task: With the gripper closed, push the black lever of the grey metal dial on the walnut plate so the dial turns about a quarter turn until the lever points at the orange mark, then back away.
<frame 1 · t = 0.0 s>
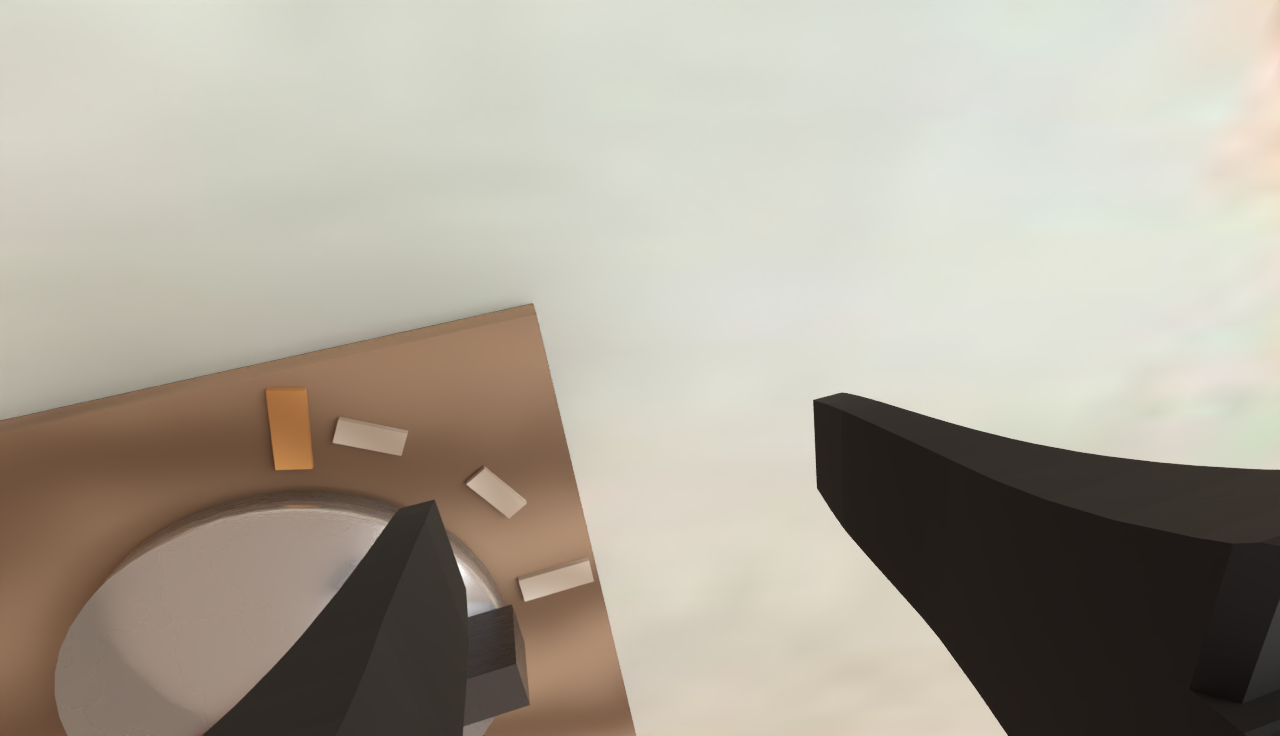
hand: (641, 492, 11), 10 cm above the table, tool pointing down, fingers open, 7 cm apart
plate: (323, 622, 22), on the table
dial: (306, 700, 19), point 3 cm above the table, hinge at 0.0°
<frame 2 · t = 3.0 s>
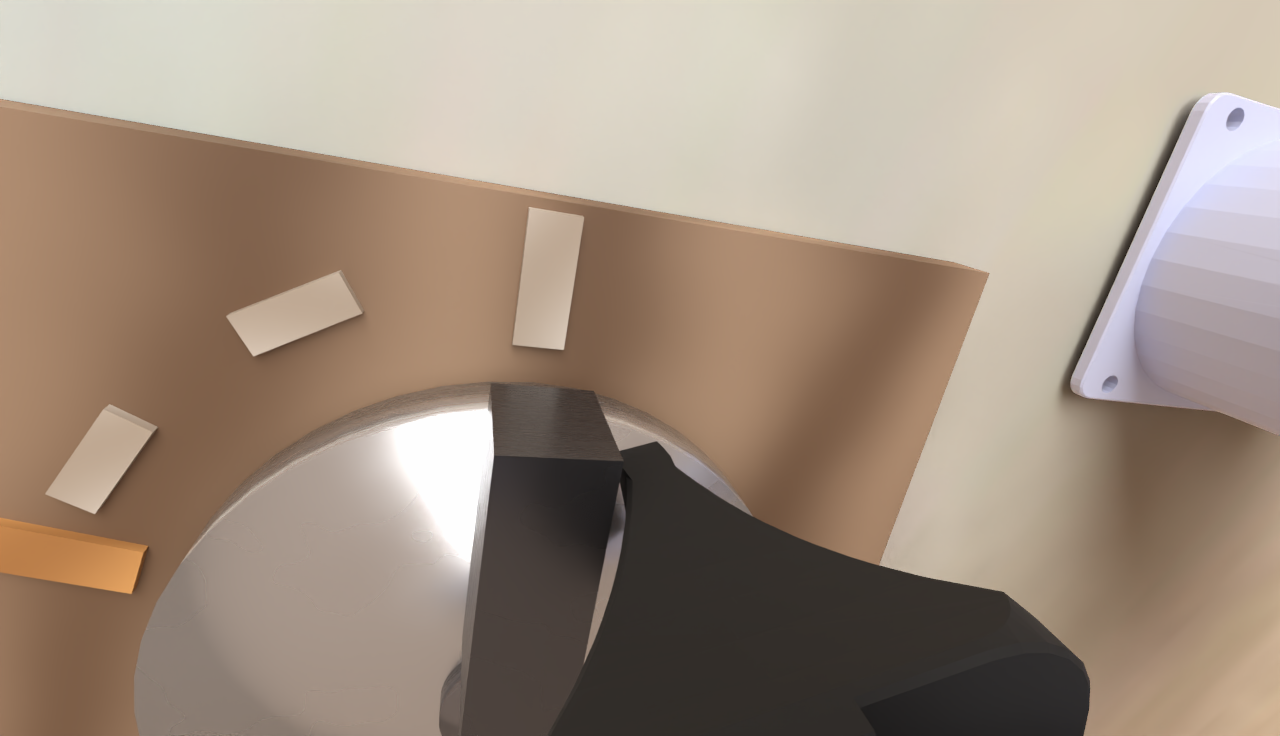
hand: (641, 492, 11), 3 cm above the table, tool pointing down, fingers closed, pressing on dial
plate: (496, 594, 16), on the table
dial: (502, 704, 12), point 3 cm above the table, hinge at 0.2°, touching gripper
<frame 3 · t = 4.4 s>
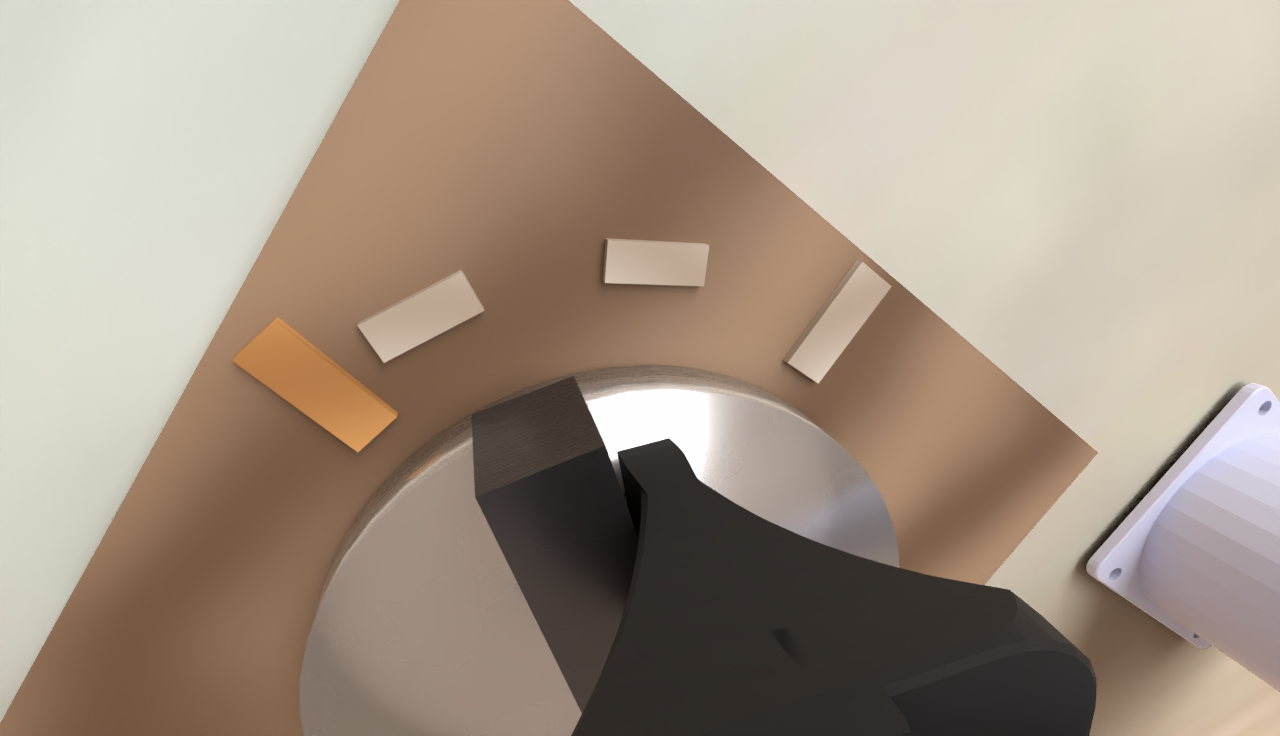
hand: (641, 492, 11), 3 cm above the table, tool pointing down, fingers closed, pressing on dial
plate: (607, 579, 16), on the table
dial: (640, 682, 13), point 3 cm above the table, hinge at 52.0°, touching gripper
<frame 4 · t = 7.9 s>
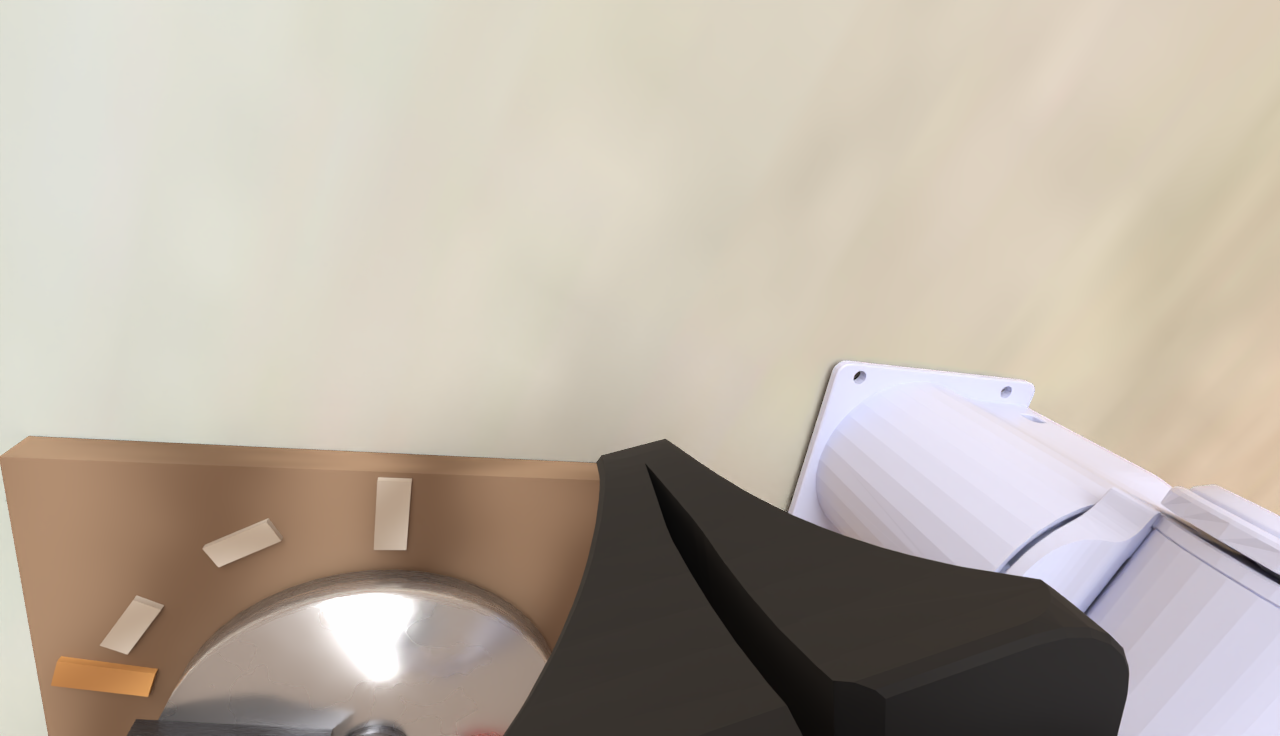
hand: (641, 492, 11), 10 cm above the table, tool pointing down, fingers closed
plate: (384, 681, 24), on the table
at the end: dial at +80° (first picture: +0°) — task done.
